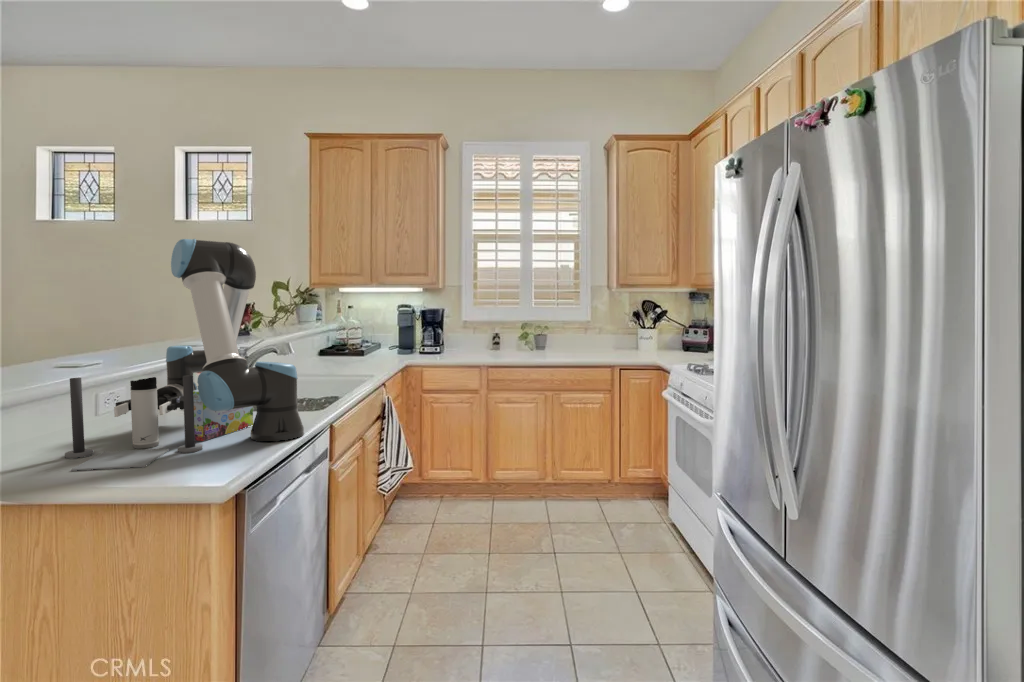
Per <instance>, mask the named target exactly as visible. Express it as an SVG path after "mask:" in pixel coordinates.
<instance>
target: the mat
mask: <svg viewBox="0 0 1024 682" xmlns="http://www.w3.org/2000/svg"><path fill="white" fill-rule="evenodd" d="M168 450H169V451H170V448H147V449H132V450H131V449H130V450H109V451H107V450H106V451H102V452H101V453H99V454H97V455H95V456H93V457H91V458H89V459H87V460H86V461H84V462H82V463H80V464H78V465H76V466H74V467H73V468H71V469H70V472H78V471H77V470H87V471H94V470H93V469H105V470H112V469H111V468H124V469H131V468H130V467H142V468H146V467H147V466H146V465H148V464H149V463H150V464H152V463H153V462H155V461H156V460H157V458H158V457H159V458H161V457H162V456H163V455H165V454H166V453H168V452H169V451H168ZM167 451H168V452H167ZM165 452H166V453H165ZM164 453H165V454H164ZM162 454H163V455H162ZM161 455H162V456H161ZM160 456H161V457H160ZM159 458H158V459H159ZM155 459H156V460H155ZM154 460H155V461H154ZM152 461H153V462H152ZM151 462H152V463H151ZM150 464H149V465H150ZM149 465H148V466H149ZM145 466H146V467H145ZM91 469H92V470H91Z"/></svg>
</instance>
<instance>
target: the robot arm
mask: <svg viewBox="0 0 1024 682" xmlns="http://www.w3.org/2000/svg"><path fill="white" fill-rule="evenodd" d="M170 268H171V269H170V270H171V274H172V275H173V276H174V277H175V278H178V279H180V278H181V282H182V285H183V287H185V288H186V289H188V290H190V295H191V299H192V302H193V306H194V311H195V315H196V320H197V321H196V322H197V324H198V329H199V333H200V338H201V342H202V346H203V349H202V350H201V349H200V350H194V348H193V347H192V346H191V345H172V346H169V347H167V349H166V355H165V356H166V357H165V362H166V378H167V379H166V384H167V385H165V386H163V387H160V388H157V401H158V411H159V416H164V415H166V414H168V413H170V412H172V411H177V410H178V409H179V410H181V411H182V410H183V411H184V398H183V376H187V375H192V376H193V377H194V374H196V373H199V375H198V377H197V384H196V383H195V382H194V381H193V391H195V390H198V392H199V395H200V398H201V400H202V402H203V403H204V405H205V406H206V407H208V408H209V409H210V410H213V411H223V410H226V411H229V410H231V409H238V408H245V407H251V406H253V407H256V414H255V418H254V419H253V426H252V427H251V429H250V440H252V439H253V440H252V441H254V440H257V441H256V442H260V441H276V442H280V441H279V440H285V441H289V440H288V439H291V440H294V439H293V438H295V439H298V438H301V437H303V436H304V435H305V428H304V425H303V422H302V419H301V415H300V414H299V410H298V374H297V371H298V370H297V368H296V367H297V366H295V365H294V364H293V363H287V362H276V361H256V362H255V364H254V366H253V367H249V366H248V361H247V359H246V358H244V357H243V356H241V355H240V353H239V348H238V345H237V340H238V337H239V332H240V328H241V325H242V321H243V317H244V313H245V311H246V310H245V309H246V304H247V301H248V297H249V293H250V290H252V289H254V287H255V284H256V278H257V276H256V275H257V269H256V266H255V263H254V261H253V258H252V256H251V254H250V253H249V252H248V250H246V249H245V248H244V247H242V246H241V245H239V244H237V243H233V242H230V241H214V240H202V239H196V238H193V239H192V238H182V239H179V240H177V242H176V243H175V244H174V247H173V250H172V253H171V261H170ZM113 410H114V418H115V417H117V418H118V417H121V416H123V415H126V414H128V413H129V411H130V412H131V398H130V399H127V400H121V401H117V402H115V406H113ZM297 437H298V438H297Z"/></svg>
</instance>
